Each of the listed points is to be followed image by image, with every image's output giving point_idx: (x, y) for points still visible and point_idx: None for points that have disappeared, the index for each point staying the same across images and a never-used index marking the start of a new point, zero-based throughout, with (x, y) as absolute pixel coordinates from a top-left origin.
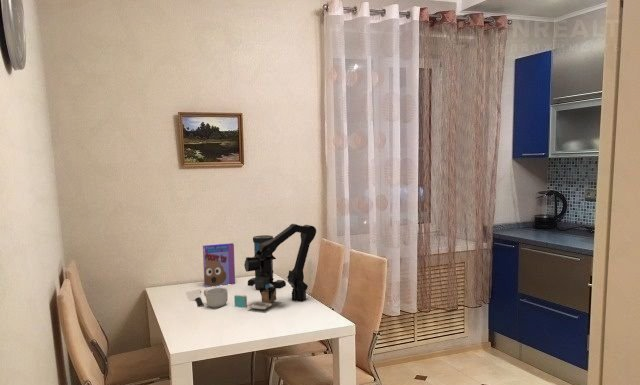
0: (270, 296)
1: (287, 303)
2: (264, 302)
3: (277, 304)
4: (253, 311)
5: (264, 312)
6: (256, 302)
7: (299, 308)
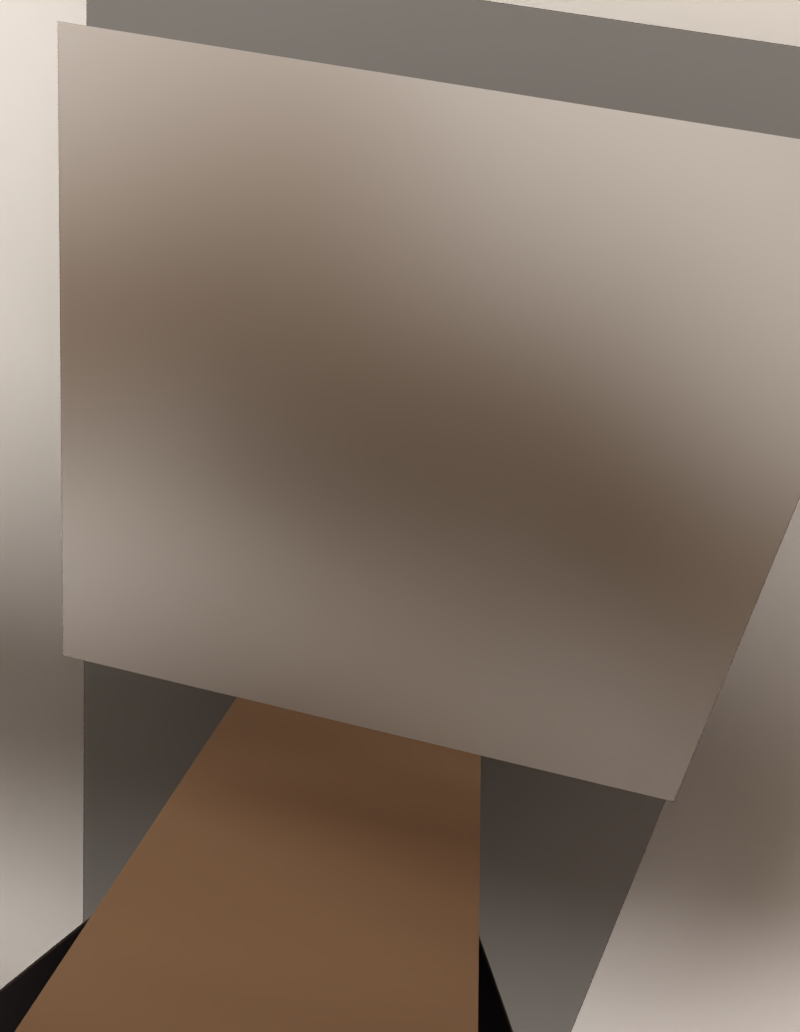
0: (12, 992)
1: (6, 935)
2: (360, 731)
3: (116, 825)
4: (622, 43)
5: (137, 5)
6: (698, 730)
7: None
